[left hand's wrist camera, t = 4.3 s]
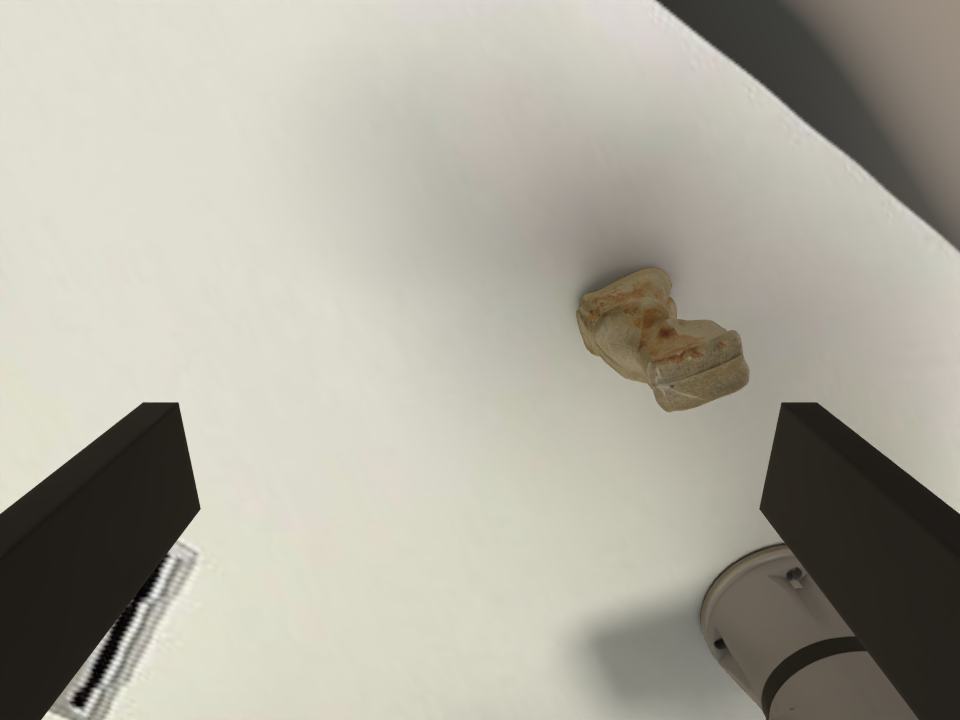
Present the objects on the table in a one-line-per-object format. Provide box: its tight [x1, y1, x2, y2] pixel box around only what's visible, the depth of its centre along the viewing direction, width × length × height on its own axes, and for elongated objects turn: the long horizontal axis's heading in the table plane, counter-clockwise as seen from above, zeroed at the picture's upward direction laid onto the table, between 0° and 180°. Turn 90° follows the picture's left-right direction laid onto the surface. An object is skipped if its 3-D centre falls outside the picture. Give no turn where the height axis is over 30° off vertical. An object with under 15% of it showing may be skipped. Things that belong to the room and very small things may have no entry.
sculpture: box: [576, 268, 749, 412], centre depth 36 cm, size 6×7×15 cm
